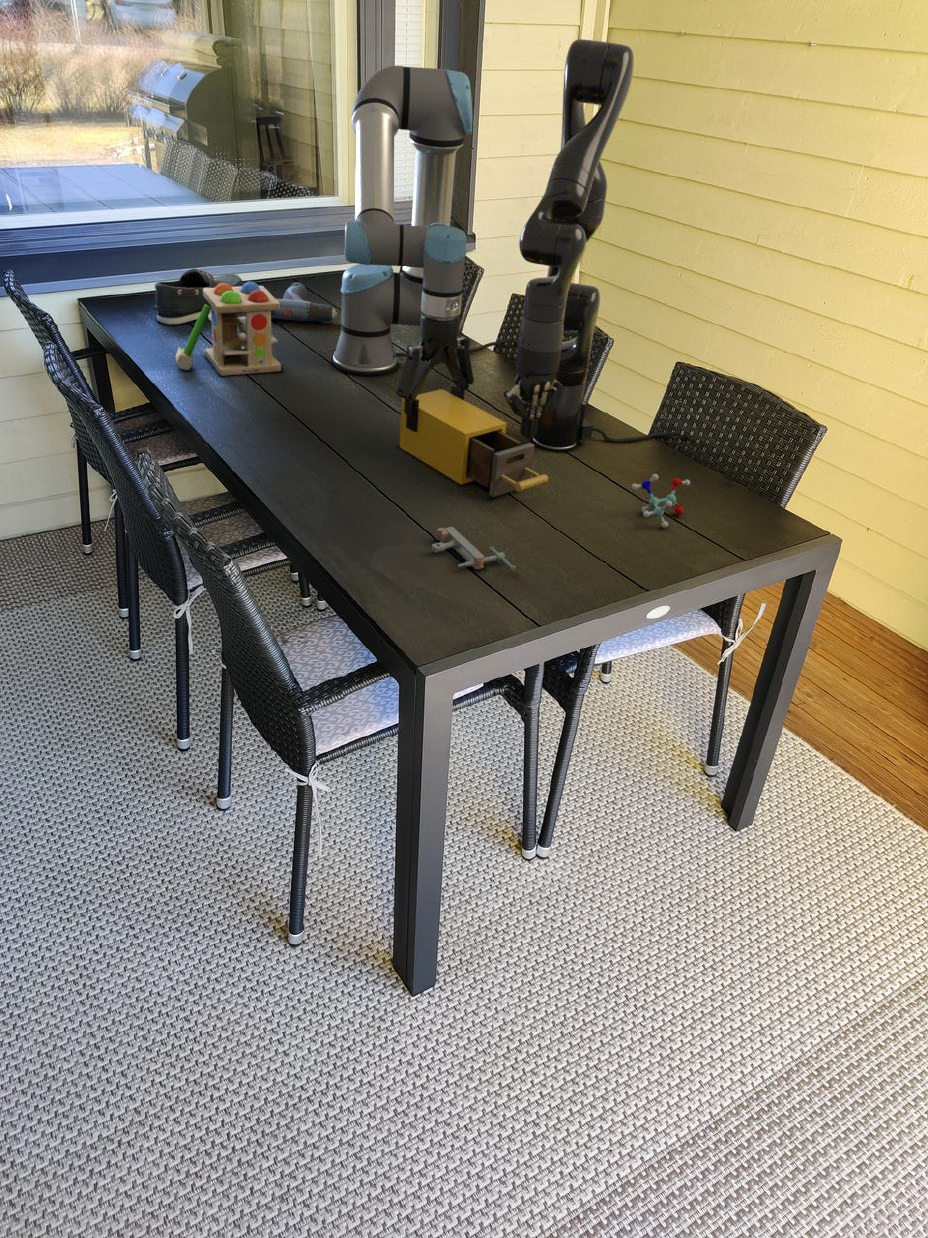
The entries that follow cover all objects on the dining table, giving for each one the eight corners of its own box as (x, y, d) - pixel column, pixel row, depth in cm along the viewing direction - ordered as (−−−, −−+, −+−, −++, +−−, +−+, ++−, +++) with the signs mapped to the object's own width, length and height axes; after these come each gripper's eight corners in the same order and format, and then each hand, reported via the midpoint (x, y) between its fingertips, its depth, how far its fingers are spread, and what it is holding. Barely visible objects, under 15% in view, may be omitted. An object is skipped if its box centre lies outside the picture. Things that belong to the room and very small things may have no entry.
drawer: (549, 497, 185) (555, 456, 181) (514, 509, 180) (519, 467, 175) (467, 450, 200) (471, 410, 195) (432, 460, 195) (435, 419, 190)
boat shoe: (263, 303, 272) (261, 264, 267) (174, 326, 248) (170, 284, 243) (229, 294, 278) (227, 256, 272) (139, 317, 254) (134, 275, 248)
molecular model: (693, 521, 176) (676, 468, 175) (642, 536, 180) (626, 484, 178) (699, 512, 187) (684, 462, 185) (651, 526, 190) (636, 477, 189)
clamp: (422, 531, 168) (472, 521, 172) (421, 542, 169) (471, 532, 174) (465, 574, 157) (517, 562, 162) (464, 586, 159) (516, 573, 163)
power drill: (344, 304, 276) (335, 327, 259) (277, 298, 275) (264, 321, 258) (344, 285, 273) (335, 306, 256) (277, 279, 272) (264, 300, 255)
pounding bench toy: (183, 379, 220) (176, 299, 210) (169, 357, 231) (162, 280, 221) (282, 371, 230) (280, 294, 220) (264, 350, 240) (262, 276, 230)
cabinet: (501, 472, 195) (506, 422, 189) (461, 484, 189) (465, 434, 183) (438, 436, 207) (442, 388, 201) (399, 447, 201) (401, 398, 195)
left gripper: (404, 329, 177) (399, 442, 190) (498, 312, 190) (488, 418, 203) (380, 317, 182) (376, 428, 194) (473, 301, 195) (464, 406, 207)
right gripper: (526, 355, 162) (515, 451, 172) (582, 343, 170) (568, 436, 179) (496, 341, 167) (487, 436, 176) (552, 330, 174) (539, 421, 184)
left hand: (433, 423), depth 198 cm, fingers closed on cabinet, 10 cm apart
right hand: (527, 436), depth 178 cm, fingers closed
